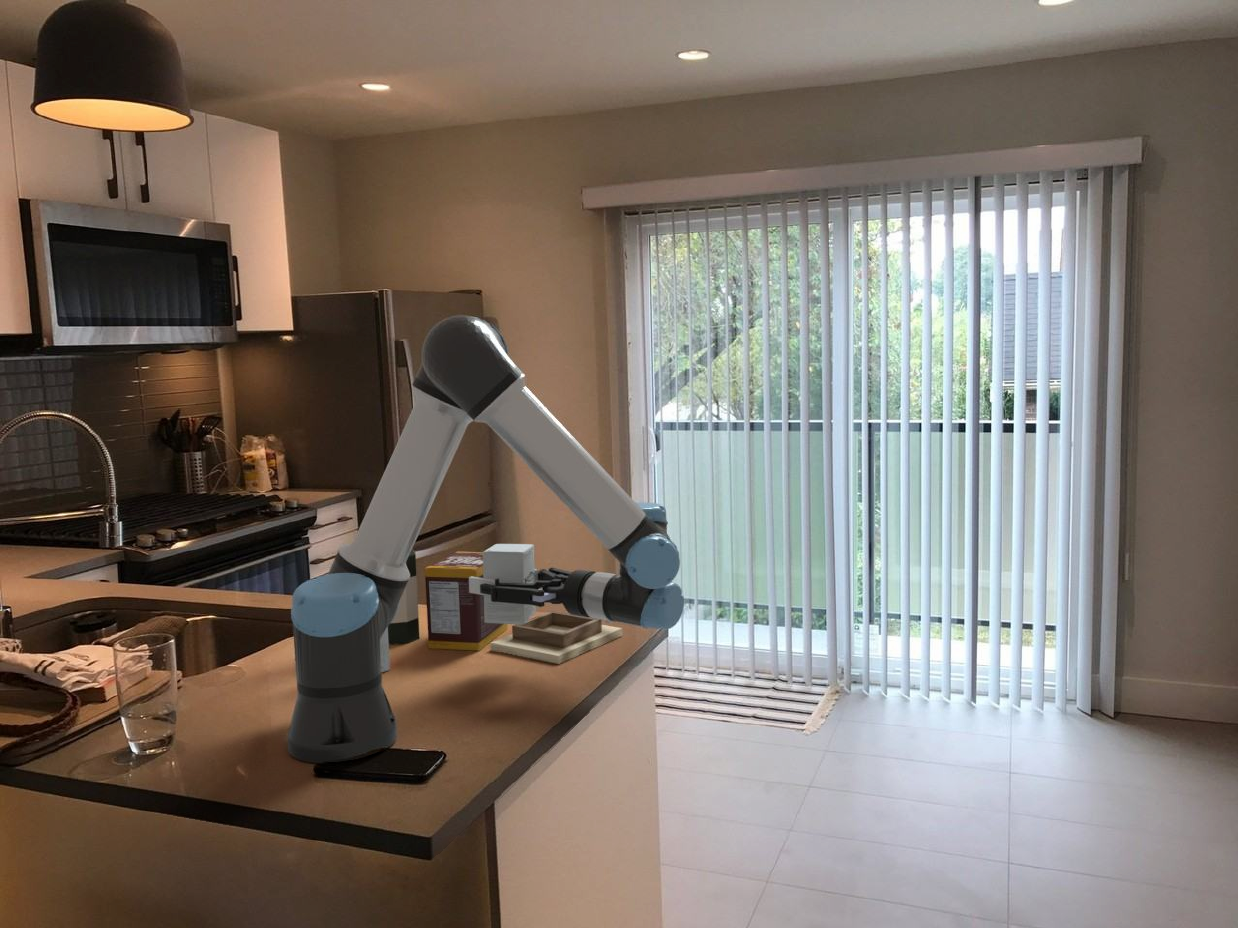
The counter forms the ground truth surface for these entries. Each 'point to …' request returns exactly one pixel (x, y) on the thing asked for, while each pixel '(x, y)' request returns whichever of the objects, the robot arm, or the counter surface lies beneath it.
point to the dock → (556, 637)
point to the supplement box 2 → (508, 580)
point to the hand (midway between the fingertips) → (490, 578)
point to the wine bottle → (406, 610)
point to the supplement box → (457, 604)
